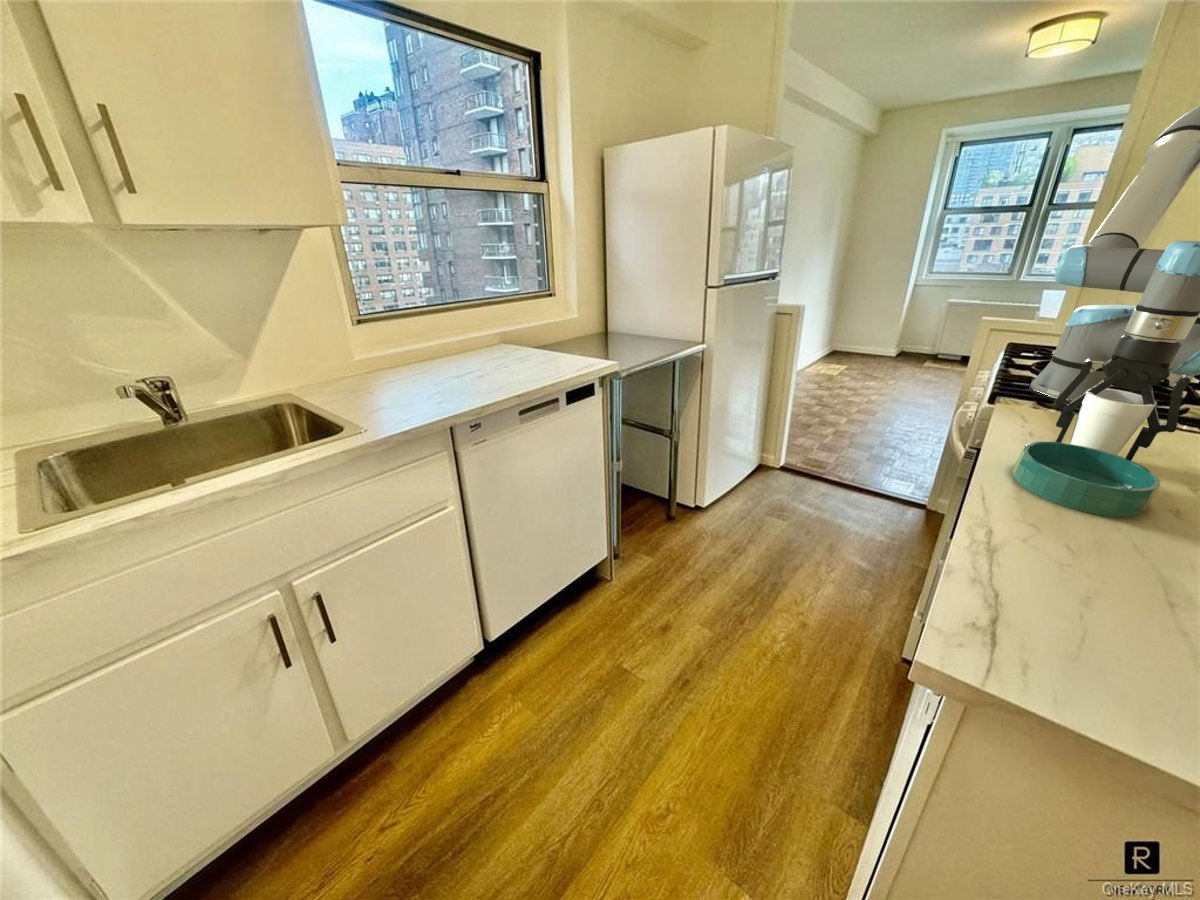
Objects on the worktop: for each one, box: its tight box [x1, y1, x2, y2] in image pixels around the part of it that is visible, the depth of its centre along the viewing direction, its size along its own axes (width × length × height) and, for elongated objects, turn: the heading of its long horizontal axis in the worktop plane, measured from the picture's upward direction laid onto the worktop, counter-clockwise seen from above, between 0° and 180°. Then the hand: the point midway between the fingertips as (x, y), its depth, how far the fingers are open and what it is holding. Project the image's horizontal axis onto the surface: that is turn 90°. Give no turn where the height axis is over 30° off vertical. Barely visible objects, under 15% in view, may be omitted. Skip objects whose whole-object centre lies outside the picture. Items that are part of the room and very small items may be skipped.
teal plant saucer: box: [1012, 440, 1162, 518], centre depth 84 cm, size 17×17×5 cm
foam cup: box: [1069, 388, 1158, 456], centre depth 92 cm, size 10×9×13 cm
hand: (1091, 451), depth 94 cm, fingers closed on foam cup, 9 cm apart
